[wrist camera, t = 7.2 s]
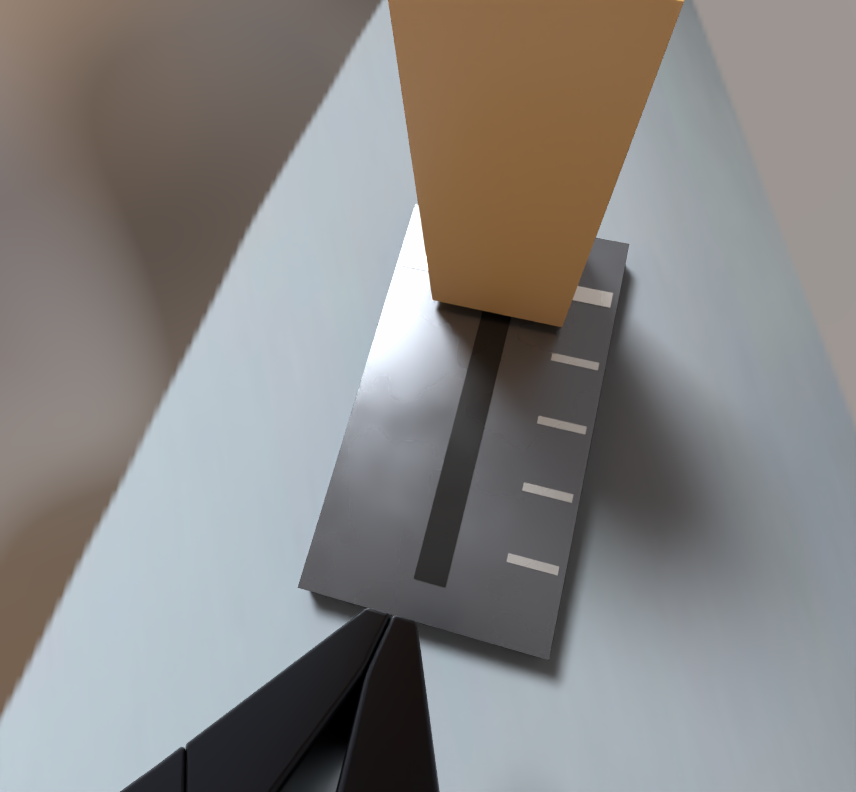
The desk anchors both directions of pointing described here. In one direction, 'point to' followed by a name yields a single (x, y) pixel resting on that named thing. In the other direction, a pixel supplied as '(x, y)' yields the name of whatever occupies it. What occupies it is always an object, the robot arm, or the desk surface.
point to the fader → (521, 137)
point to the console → (467, 458)
